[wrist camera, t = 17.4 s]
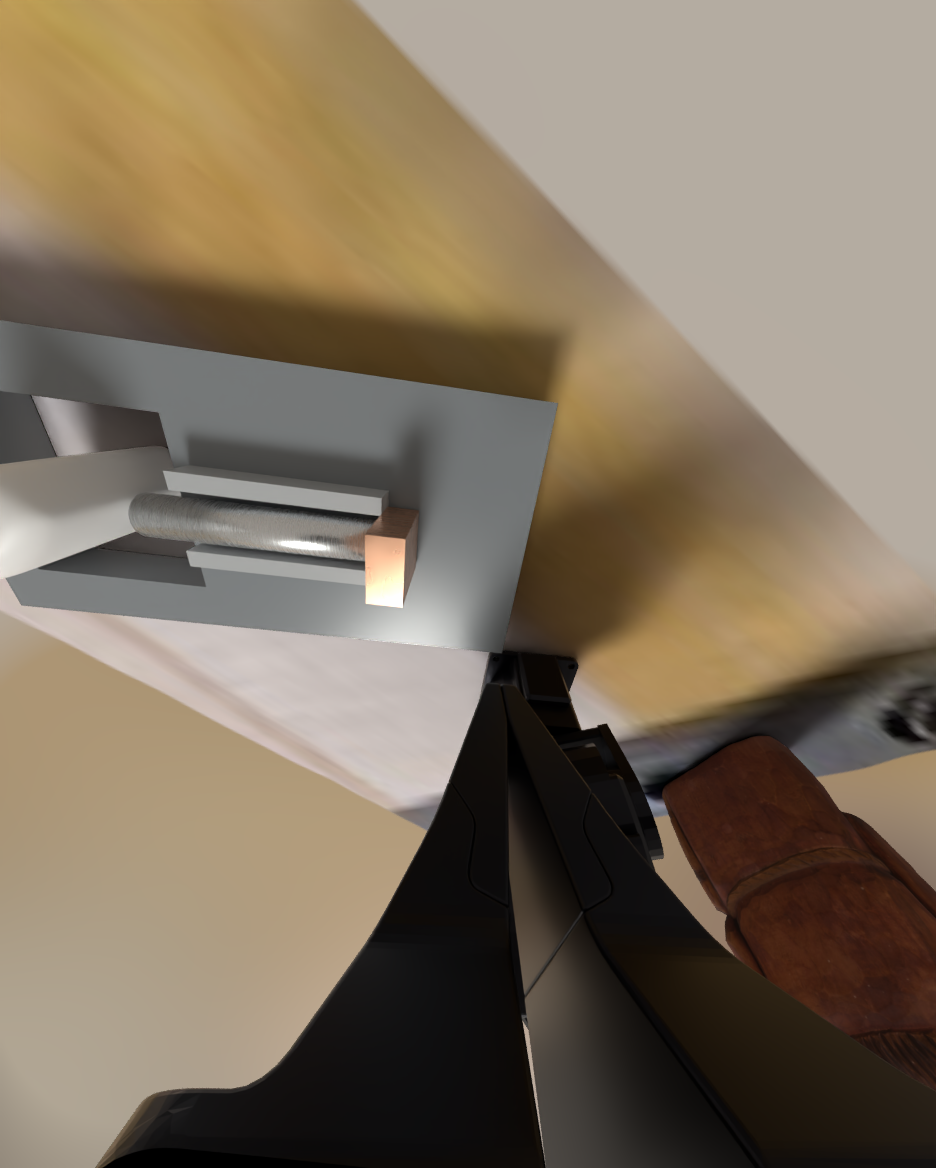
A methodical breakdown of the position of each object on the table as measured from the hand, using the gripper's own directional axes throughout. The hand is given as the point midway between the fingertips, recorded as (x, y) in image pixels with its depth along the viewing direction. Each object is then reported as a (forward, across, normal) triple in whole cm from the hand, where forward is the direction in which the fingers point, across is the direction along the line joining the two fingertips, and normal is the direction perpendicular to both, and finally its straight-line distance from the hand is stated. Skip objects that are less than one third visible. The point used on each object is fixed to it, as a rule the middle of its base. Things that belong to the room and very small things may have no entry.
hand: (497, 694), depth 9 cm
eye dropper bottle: (+12, +19, -1) cm, 22 cm away
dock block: (+12, +12, -1) cm, 17 cm away
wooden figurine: (+12, -25, +19) cm, 34 cm away
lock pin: (+9, +9, -1) cm, 13 cm away
